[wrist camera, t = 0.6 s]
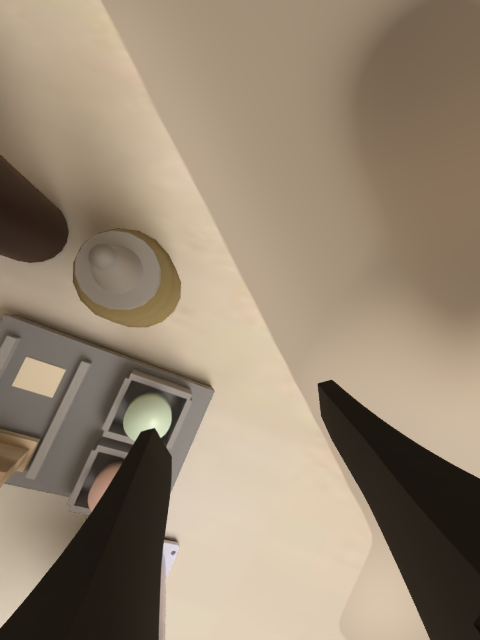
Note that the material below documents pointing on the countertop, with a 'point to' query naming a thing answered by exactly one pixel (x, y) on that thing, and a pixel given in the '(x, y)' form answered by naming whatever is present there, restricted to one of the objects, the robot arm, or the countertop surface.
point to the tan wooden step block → (15, 453)
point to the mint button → (147, 414)
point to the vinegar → (28, 219)
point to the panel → (82, 407)
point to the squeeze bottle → (126, 278)
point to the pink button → (102, 483)
